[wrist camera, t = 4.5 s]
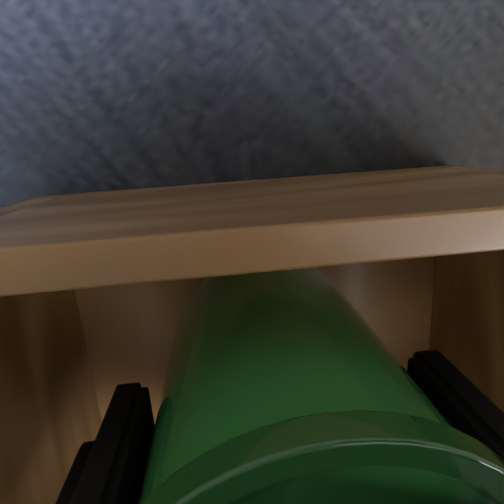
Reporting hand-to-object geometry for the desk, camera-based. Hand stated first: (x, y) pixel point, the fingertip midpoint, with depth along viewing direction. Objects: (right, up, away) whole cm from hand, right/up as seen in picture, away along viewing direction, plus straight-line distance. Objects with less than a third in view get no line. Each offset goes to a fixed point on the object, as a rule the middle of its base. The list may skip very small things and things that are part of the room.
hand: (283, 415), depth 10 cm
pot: (0, +1, +4) cm, 4 cm away
